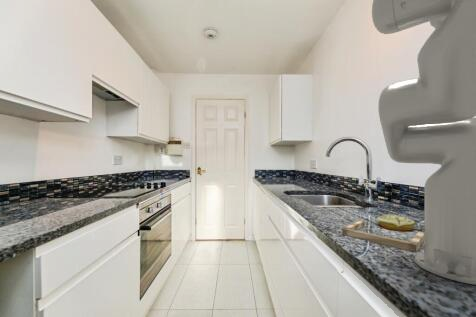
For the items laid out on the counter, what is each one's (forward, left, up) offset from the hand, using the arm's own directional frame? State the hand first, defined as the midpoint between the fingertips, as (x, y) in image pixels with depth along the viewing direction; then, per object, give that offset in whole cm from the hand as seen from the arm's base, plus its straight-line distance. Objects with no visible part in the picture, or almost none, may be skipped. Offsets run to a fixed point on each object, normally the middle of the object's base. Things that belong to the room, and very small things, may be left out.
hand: (459, 113), depth 64 cm
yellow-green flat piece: (+5, +16, -37) cm, 41 cm away
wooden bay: (-9, +16, -37) cm, 41 cm away
